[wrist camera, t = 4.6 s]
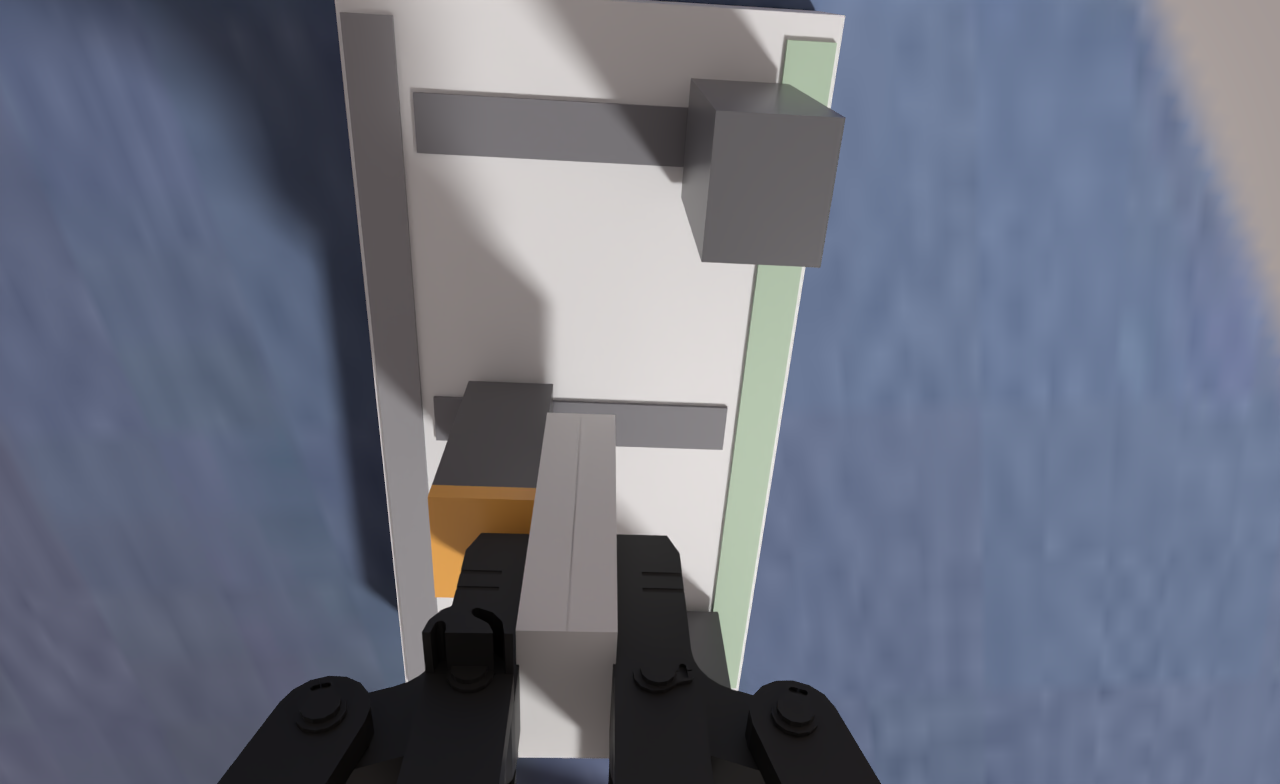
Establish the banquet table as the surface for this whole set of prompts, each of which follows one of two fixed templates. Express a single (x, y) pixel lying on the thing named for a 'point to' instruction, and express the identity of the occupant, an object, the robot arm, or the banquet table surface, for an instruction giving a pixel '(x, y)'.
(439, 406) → the breaker panel
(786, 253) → the handle
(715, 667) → the handle
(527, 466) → the handle
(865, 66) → the banquet table surface
